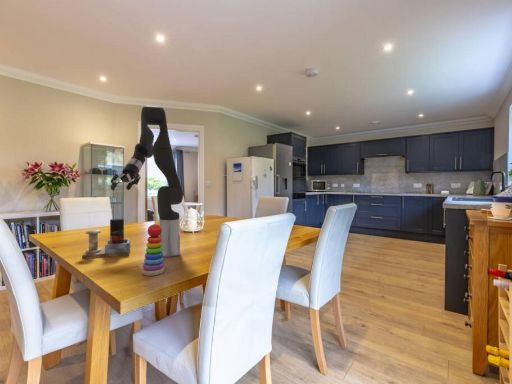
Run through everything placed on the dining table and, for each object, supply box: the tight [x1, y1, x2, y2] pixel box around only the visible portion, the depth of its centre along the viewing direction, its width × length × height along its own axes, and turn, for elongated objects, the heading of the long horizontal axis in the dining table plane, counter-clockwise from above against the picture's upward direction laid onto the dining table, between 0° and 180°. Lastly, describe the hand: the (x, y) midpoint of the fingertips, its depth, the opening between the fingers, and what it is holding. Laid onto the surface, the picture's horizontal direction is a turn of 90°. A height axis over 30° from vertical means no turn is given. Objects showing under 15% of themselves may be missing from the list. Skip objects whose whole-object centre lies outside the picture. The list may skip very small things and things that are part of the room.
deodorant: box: [109, 218, 125, 244], centre depth 126 cm, size 6×6×15 cm
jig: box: [81, 229, 131, 260], centre depth 124 cm, size 19×11×12 cm, turn 114°
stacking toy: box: [141, 223, 165, 277], centre depth 98 cm, size 8×8×19 cm
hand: (119, 189), depth 131 cm, fingers open, 8 cm apart
